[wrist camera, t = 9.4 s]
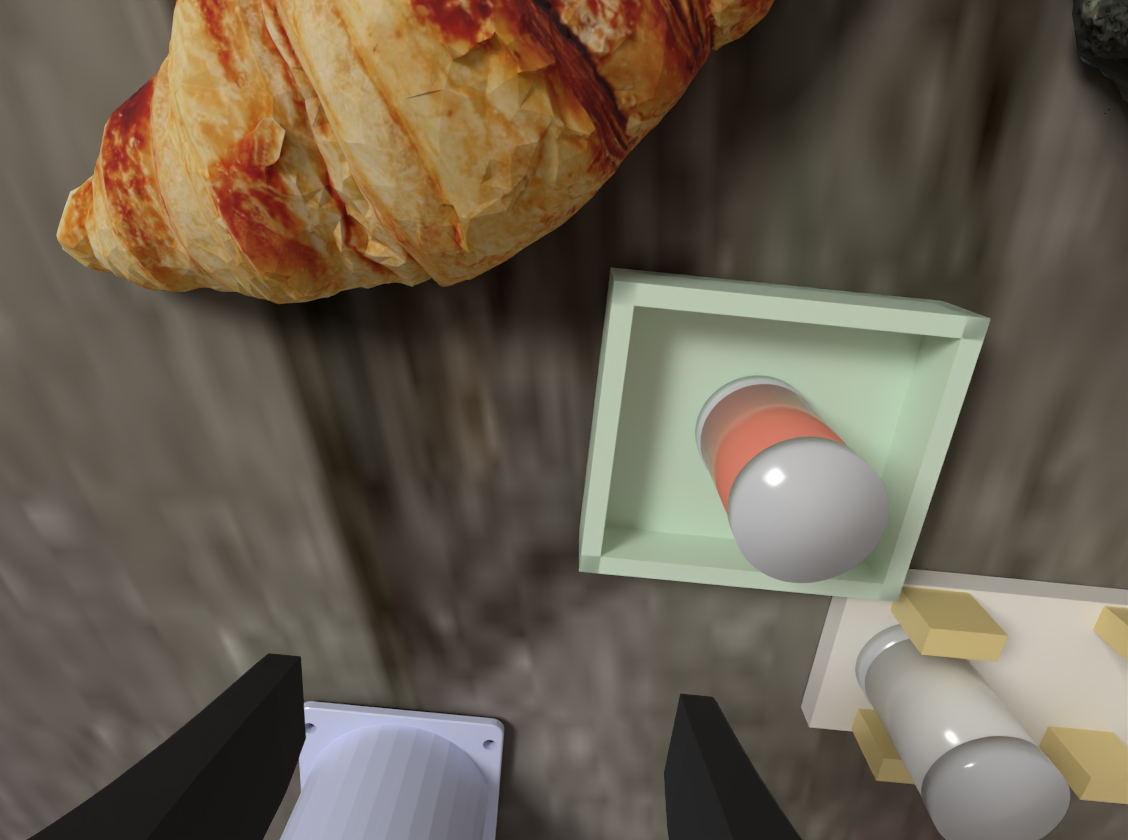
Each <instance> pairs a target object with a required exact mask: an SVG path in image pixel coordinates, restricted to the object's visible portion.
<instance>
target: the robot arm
mask: <svg viewBox="0 0 1128 840" xmlns="http://www.w3.org/2000/svg"><path fill="white" fill-rule="evenodd" d="M309 723H311V724H313V725H310V724H309ZM487 740H492V741H494V742H489V741H487ZM503 740H504V725H503V724H502V722H500V721H499V720H497V719H493V718H484V717H473V716H462V715H452V714H441V713H430V712H420V711H409V710H398V709H388V708H377V707H366V706H356V705H345V704H334V703H324V702H313V701H311V702H305V703H304V699H303V683H302V668H301V657H300V656H290V655H279V654H267V655H266V656H265V657H263V658H262V659H261V660H260V661H259V662H257V663H256V664H255V665H254V666H253V667H252V668H251V669H249V670H248V671H247V672H246V673H245V674H244V675H243V676H241V677H240V678H239V679H238V680H237V681H236V682H235V683H233V684H232V685H231V686H230V687H229V688H228V689H227V690H225V691H224V692H223V693H222V694H221V695H220V696H218V697H217V698H216V699H215V700H214V701H213V702H211V703H210V704H209V705H208V706H207V707H206V708H204V709H203V710H202V711H201V712H200V713H199V714H197V715H196V716H195V717H194V718H192V719H191V720H190V721H189V722H188V723H186V724H185V725H184V726H183V727H182V728H180V729H179V730H178V731H177V732H176V733H174V734H173V735H172V736H171V737H170V738H168V739H167V740H166V741H165V742H163V743H162V744H161V745H160V746H158V747H157V748H156V749H155V750H153V751H152V752H151V753H149V754H148V755H147V756H145V757H144V758H143V759H142V760H140V761H139V762H138V763H136V764H135V765H134V766H132V767H131V768H130V769H129V770H127V771H126V772H125V773H123V774H122V775H121V776H119V777H118V778H117V779H116V780H114V781H113V782H111V783H110V784H109V785H107V786H106V787H105V788H103V789H102V790H100V791H99V792H98V793H96V794H95V795H93V796H92V797H91V798H89V799H88V800H86V801H85V802H83V803H82V804H81V805H79V806H78V807H76V808H75V809H73V810H72V811H70V812H69V813H67V814H66V815H64V816H63V817H61V818H60V819H58V820H57V821H56V822H54V823H53V824H51V825H50V826H48V827H46V828H45V829H43V830H42V831H40V832H39V833H37V834H35V835H34V836H32V837H31V838H29V839H27V840H263V838H264V836H265V834H266V832H267V830H268V828H269V826H270V824H271V822H272V820H273V818H274V816H275V814H276V812H277V810H278V808H279V806H280V804H281V802H282V800H283V798H284V796H285V793H286V791H287V788H288V786H289V783H290V780H291V778H292V775H293V773H294V770H295V767H296V765H297V762H298V759H299V764H300V780H301V794H300V796H299V798H298V801H297V803H296V805H295V807H294V810H293V812H292V814H291V816H290V818H289V821H288V823H287V825H286V827H285V830H284V832H283V834H282V836H281V838H280V840H495V836H496V824H497V812H498V800H499V788H500V776H501V764H502V752H503ZM664 781H665V798H666V813H667V827H668V835H669V840H802V839H801V837H800V836H799V835H798V833H797V832H796V830H795V829H794V828H793V826H792V825H791V823H790V822H789V820H788V819H787V817H786V816H785V814H784V813H783V811H782V810H781V809H780V807H779V805H778V804H777V802H776V801H775V799H774V798H773V796H772V795H771V793H770V792H769V790H768V788H767V787H766V785H765V784H764V782H763V781H762V779H761V778H760V776H759V774H758V773H757V771H756V770H755V768H754V766H753V765H752V763H751V761H750V760H749V758H748V756H747V755H746V753H745V751H744V750H743V748H742V746H741V744H740V743H739V741H738V739H737V738H736V736H735V734H734V732H733V730H732V729H731V727H730V725H729V723H728V722H727V720H726V718H725V716H724V714H723V712H722V711H721V709H720V707H719V705H718V703H717V702H716V700H715V699H714V698H713V697H709V696H699V695H689V694H680V698H679V703H678V708H677V713H676V718H675V722H674V727H673V732H672V737H671V742H670V747H669V751H668V756H667V761H666V766H665V771H664Z"/></svg>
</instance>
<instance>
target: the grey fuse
mask: <svg viewBox="0 0 1128 840" xmlns="http://www.w3.org/2000/svg"><path fill="white" fill-rule="evenodd" d="M855 672H856V678H857V681H858V683H859V685H860V687H861V689H862V691H863V692H864V694H865V696H866V698H867V700H868V701H869V703H870V704H871V705H872V706H873V708H874V710H875V712H876V713H877V715H878V717H879V719H880V721H881V723H882V724H883V726H884V728H885V730H886V732H887V734H888V736H889V737H890V739H891V741H892V743H893V745H894V747H895V749H896V750H897V752H898V754H899V756H900V758H901V760H902V761H903V763H904V765H905V767H906V769H907V771H908V773H909V774H910V776H911V778H912V780H913V782H914V784H915V786H916V787H917V789H918V791H919V793H920V795H921V797H922V800H923V804H924V806H925V808H926V810H927V811H928V813H929V815H930V817H931V819H932V821H933V823H934V824H935V826H936V828H937V830H938V832H939V833H940V834H941V836H942V837H943V838H944V839H945V840H1039V839H1041V838H1042V837H1044V836H1045V835H1047V834H1048V833H1049V832H1050V831H1052V830H1053V829H1054V828H1055V827H1056V826H1057V825H1058V824H1059V822H1060V821H1061V820H1062V819H1063V817H1064V815H1065V814H1066V812H1067V809H1068V807H1069V802H1070V789H1069V786H1068V783H1067V781H1066V779H1065V778H1064V776H1063V775H1062V774H1061V773H1060V771H1059V770H1058V769H1057V767H1056V766H1055V765H1054V764H1053V762H1052V761H1051V760H1050V759H1049V757H1048V756H1047V755H1046V754H1045V753H1044V752H1043V750H1041V749H1040V748H1039V747H1038V746H1037V745H1036V744H1035V743H1034V741H1033V740H1032V739H1031V738H1030V736H1029V735H1028V734H1027V732H1026V731H1025V730H1024V729H1023V727H1022V726H1021V725H1020V724H1019V722H1018V721H1017V720H1016V719H1015V717H1014V716H1013V715H1012V713H1011V712H1010V711H1009V710H1008V708H1007V707H1006V706H1005V705H1004V703H1003V702H1002V701H1001V699H1000V698H999V697H998V696H997V694H996V693H995V692H994V691H993V689H992V688H991V687H990V686H989V684H988V683H987V682H986V680H985V679H984V678H983V677H982V675H981V674H980V673H979V672H978V670H977V669H976V668H975V666H974V665H973V664H972V663H971V661H970V660H969V659H962V658H951V657H941V656H930V655H921V654H920V652H919V651H918V650H917V648H916V647H915V645H914V644H913V642H912V641H911V640H910V638H909V637H908V635H907V634H906V632H905V631H904V629H903V628H902V627H901V625H900V624H898V625H894V626H891V627H889V628H887V629H885V630H883V631H881V632H879V633H878V634H876V635H875V636H874V637H872V638H871V639H870V640H869V641H868V642H867V643H866V644H865V645H864V647H863V648H862V650H861V651H860V653H859V655H858V658H857V661H856V666H855Z"/></svg>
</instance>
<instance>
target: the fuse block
mask: <svg viewBox="0 0 1128 840" xmlns="http://www.w3.org/2000/svg"><path fill="white" fill-rule="evenodd" d="M898 624H900V625H901V627H902V628H903V629H904V631H905V632H906V634H907V635H908V637H909V638H910V640H911V641H912V642H913V644H914V645H915V647H916V648H917V650H918V651H919V652H920V654H921V655H930V656H941V657H951V658H962V659H969V660H970V661H971V663H972V664H973V665H974V666H975V668H976V669H977V670H978V672H979V673H980V674H981V675H982V677H983V678H984V679H985V680H986V682H987V683H988V684H989V686H990V687H991V688H992V689H993V691H994V692H995V693H996V694H997V696H998V697H999V698H1000V699H1001V701H1002V702H1003V703H1004V705H1005V706H1006V707H1007V708H1008V710H1009V711H1010V712H1011V713H1012V715H1013V716H1014V717H1015V719H1016V720H1017V721H1018V722H1019V724H1020V725H1021V726H1022V727H1023V729H1024V730H1025V731H1026V732H1027V734H1028V735H1029V736H1030V738H1031V739H1032V740H1033V741H1034V743H1035V744H1036V745H1037V746H1038V747H1039V748H1040V749H1041V750H1043V752H1044V753H1045V754H1046V755H1047V756H1048V757H1049V759H1050V760H1051V761H1052V762H1053V764H1054V765H1055V766H1056V767H1057V769H1058V770H1059V771H1060V773H1061V774H1062V775H1063V776H1064V778H1065V779H1066V781H1067V783H1068V785H1069V786H1070V787H1071V789H1072V790H1073V791H1074V792H1075V794H1076V795H1077V796H1078V797H1079V799H1080V800H1090V801H1100V802H1111V803H1122V804H1128V590H1124V589H1114V588H1103V587H1093V586H1083V585H1072V584H1062V583H1052V582H1041V581H1031V580H1021V579H1010V578H1000V577H990V576H979V575H969V574H959V573H949V572H938V571H928V570H918V569H908V571H907V574H906V577H905V580H904V583H903V586H902V590H901V593H900V596H899V599H898V602H891V601H881V600H870V599H860V598H850V597H839V596H832V600H831V603H830V607H829V610H828V614H827V617H826V621H825V624H824V628H823V631H822V635H821V638H820V642H819V645H818V649H817V652H816V656H815V659H814V663H813V666H812V670H811V673H810V677H809V680H808V684H807V687H806V691H805V694H804V698H803V701H802V705H801V708H802V711H803V713H804V716H805V718H806V721H807V723H808V726H809V727H811V728H822V729H832V730H843V731H853V734H854V736H855V738H856V740H857V742H858V744H859V746H860V748H861V750H862V752H863V754H864V756H865V759H866V761H867V763H868V765H869V767H870V769H871V771H872V773H873V775H874V777H875V779H876V781H886V782H897V783H908V784H914V782H913V780H912V778H911V776H910V774H909V773H908V771H907V769H906V767H905V765H904V763H903V761H902V760H901V758H900V756H899V754H898V752H897V750H896V749H895V747H894V745H893V743H892V741H891V739H890V737H889V736H888V734H887V732H886V730H885V728H884V726H883V724H882V723H881V721H880V719H879V717H878V715H877V713H876V712H875V710H874V708H873V706H872V705H871V704H870V703H869V701H868V700H867V698H866V696H865V694H864V692H863V691H862V689H861V687H860V685H859V683H858V681H857V678H856V672H855V666H856V661H857V658H858V655H859V653H860V651H861V650H862V648H863V647H864V645H865V644H866V643H867V642H868V641H869V640H870V639H871V638H872V637H874V636H875V635H876V634H878V633H879V632H881V631H883V630H885V629H887V628H889V627H891V626H894V625H898Z"/></svg>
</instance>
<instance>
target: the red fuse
mask: <svg viewBox="0 0 1128 840" xmlns="http://www.w3.org/2000/svg"><path fill="white" fill-rule="evenodd" d="M695 439H696V444H697V448H698V451H699V453H700V456H701V458H702V461H703V463H704V465H705V466H706V468H707V470H708V471H709V473H710V475H711V478H712V480H713V483H714V485H715V487H716V490H717V492H718V494H719V497H720V499H721V502H722V504H723V506H724V509H725V511H726V513H727V516H728V521H729V525H730V528H731V530H732V533H733V535H734V538H735V540H736V543H737V545H738V547H739V549H740V551H741V553H742V554H743V556H744V557H745V558H746V560H747V561H748V562H749V563H750V564H751V565H752V566H753V567H755V568H756V569H757V570H759V571H760V572H762V573H764V574H765V575H767V576H769V577H772V578H774V579H777V580H781V581H785V582H792V583H813V582H819V581H824V580H827V579H831V578H834V577H836V576H839V575H841V574H843V573H845V572H847V571H849V570H850V569H852V568H853V567H855V566H856V565H858V564H859V563H860V562H862V561H863V560H864V559H865V558H866V557H867V556H868V555H869V554H870V553H871V552H872V550H873V549H874V548H875V546H876V545H877V544H878V542H879V541H880V539H881V537H882V535H883V533H884V530H885V527H886V524H887V520H888V513H889V503H888V496H887V492H886V489H885V487H884V484H883V482H882V480H881V479H880V477H879V476H878V474H877V473H876V472H875V471H874V470H873V469H872V467H871V466H870V465H869V464H868V463H867V462H866V461H865V460H864V459H863V458H862V457H861V456H860V455H859V454H858V453H857V452H855V451H854V450H853V449H851V448H850V447H848V446H847V445H846V444H845V442H844V441H843V440H842V439H841V438H840V437H839V436H838V435H837V434H836V433H835V432H834V431H833V430H832V429H831V428H830V427H829V426H828V425H827V424H826V423H825V422H824V421H823V420H822V418H821V417H820V416H819V415H818V414H817V413H816V412H815V411H814V410H813V409H812V407H811V406H810V404H809V403H808V401H807V400H806V399H805V398H804V397H803V396H802V395H801V394H800V393H799V392H798V391H797V390H796V389H795V388H794V387H792V386H791V385H790V384H788V383H786V382H785V381H782V380H780V379H778V378H774V377H770V376H763V375H754V376H746V377H742V378H739V379H736V380H733V381H731V382H729V383H727V384H725V385H724V386H722V387H721V388H719V389H718V390H717V391H716V392H714V393H713V394H712V395H711V396H710V397H709V399H708V400H707V401H706V402H705V404H704V405H703V407H702V409H701V411H700V413H699V416H698V418H697V422H696V428H695Z"/></svg>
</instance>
